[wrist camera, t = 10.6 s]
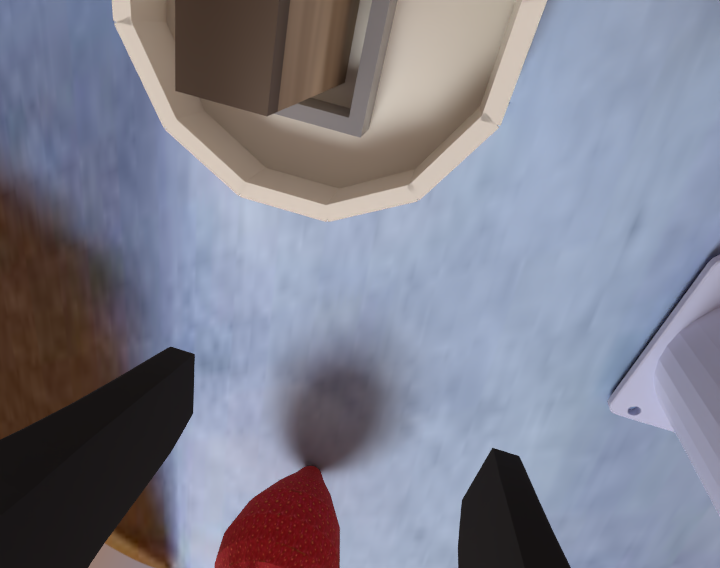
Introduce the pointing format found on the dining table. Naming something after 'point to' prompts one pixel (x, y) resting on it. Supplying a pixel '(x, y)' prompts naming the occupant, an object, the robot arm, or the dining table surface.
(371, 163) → the beige faceted bowl
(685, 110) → the dining table surface
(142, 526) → the dining table surface
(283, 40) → the tan cardboard box
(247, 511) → the strawberry
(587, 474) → the dining table surface
